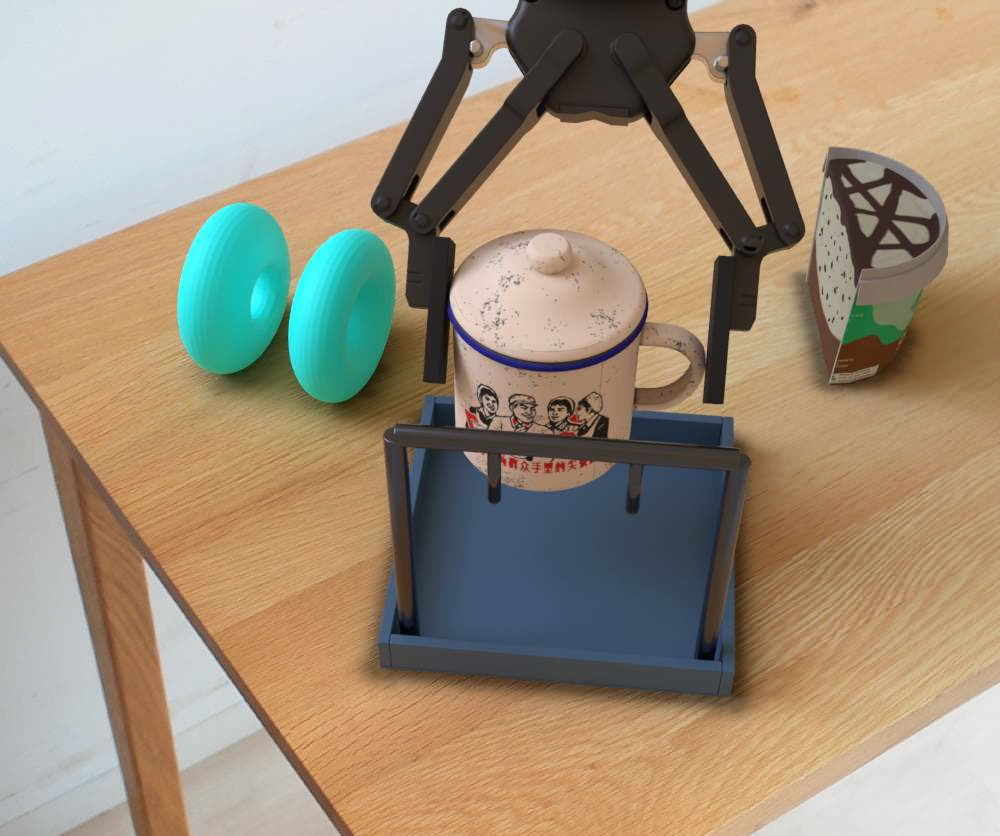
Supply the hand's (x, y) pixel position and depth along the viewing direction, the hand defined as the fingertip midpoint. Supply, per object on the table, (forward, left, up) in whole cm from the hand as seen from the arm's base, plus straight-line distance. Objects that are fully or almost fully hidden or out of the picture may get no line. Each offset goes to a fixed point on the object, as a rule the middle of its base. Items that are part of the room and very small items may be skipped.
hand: (572, 394), depth 66 cm
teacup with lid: (0, -3, -5) cm, 6 cm away
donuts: (+17, -15, -14) cm, 26 cm away
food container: (-17, -21, -14) cm, 30 cm away
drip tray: (0, -2, -14) cm, 14 cm away
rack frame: (0, +6, -14) cm, 15 cm away
